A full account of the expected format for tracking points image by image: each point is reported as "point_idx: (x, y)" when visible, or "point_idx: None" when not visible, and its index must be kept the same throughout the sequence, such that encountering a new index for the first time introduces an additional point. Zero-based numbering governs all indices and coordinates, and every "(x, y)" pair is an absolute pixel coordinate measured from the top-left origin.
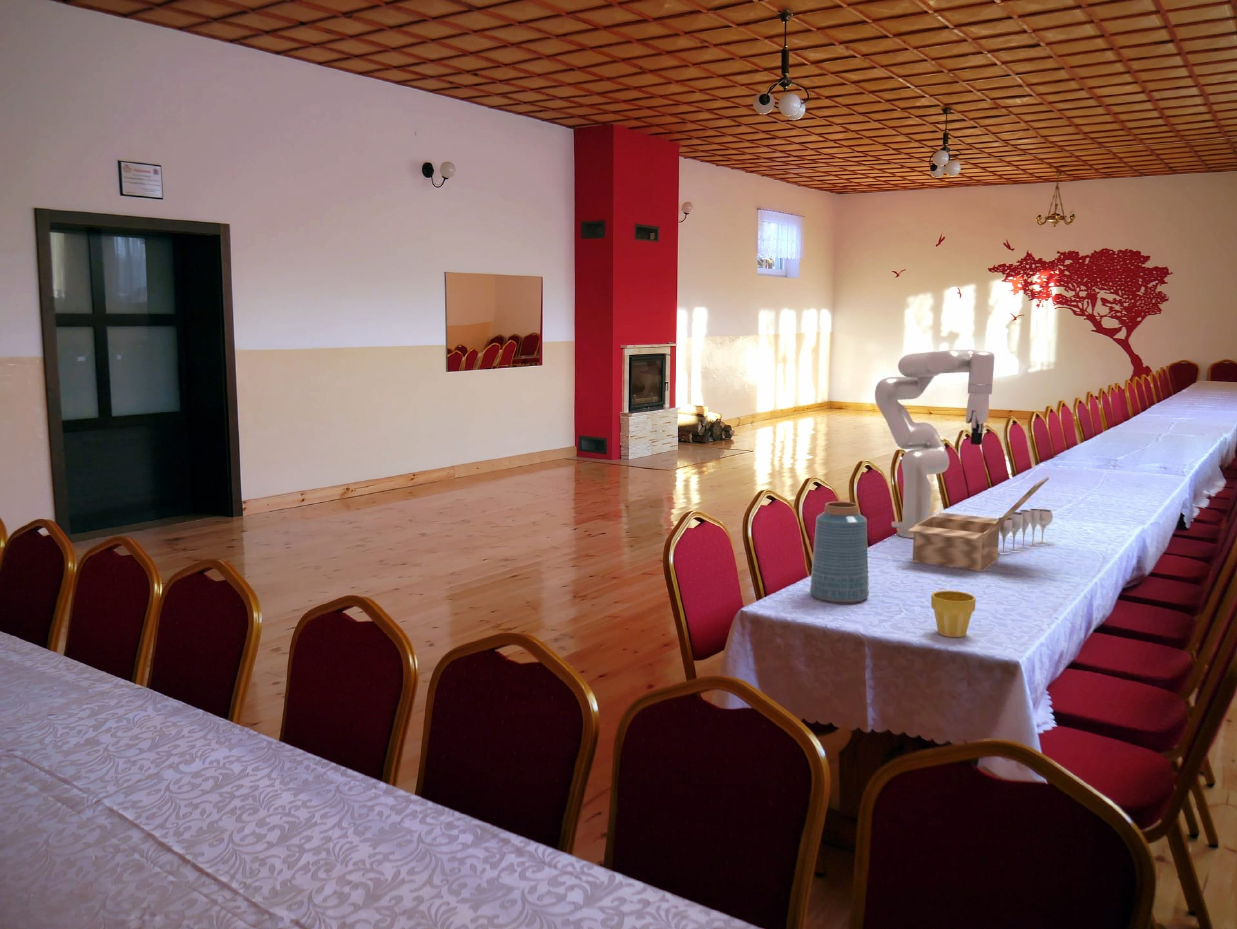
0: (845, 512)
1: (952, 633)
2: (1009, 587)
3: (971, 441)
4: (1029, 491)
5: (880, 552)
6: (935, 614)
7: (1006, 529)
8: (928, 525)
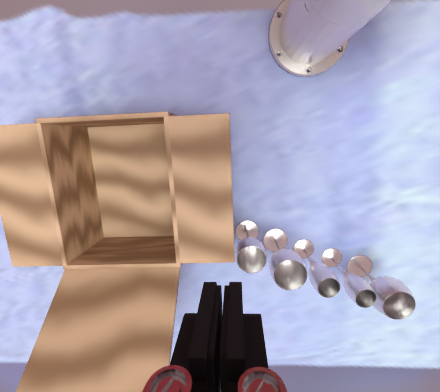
0: None
1: None
2: (45, 291)
3: (201, 296)
4: None
5: (112, 40)
6: None
7: (238, 257)
8: (137, 119)
